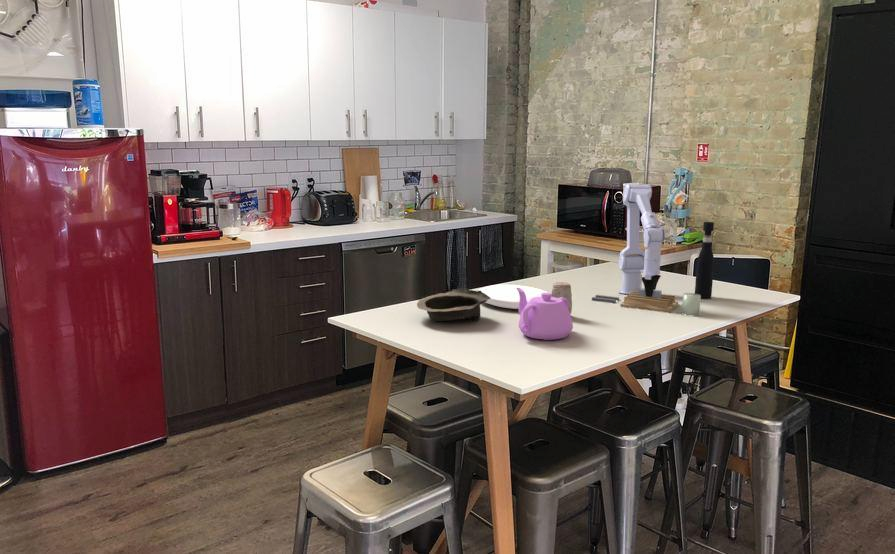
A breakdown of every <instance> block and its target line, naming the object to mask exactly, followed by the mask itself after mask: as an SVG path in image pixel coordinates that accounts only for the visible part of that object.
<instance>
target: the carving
mask: <svg viewBox="0 0 895 554" xmlns="http://www.w3.org/2000/svg"><path fill="white" fill-rule="evenodd" d="M551 294H552V297H555V298H561V297H562V298H565V299H567V301H568V310H569V312H570V315H571V314H572V312H573V311H572V310H573V299H572V295H573V294H572V286H571V284H570V283H568V282H565V281H557V282H554V283H553V284H552V287H551Z"/></svg>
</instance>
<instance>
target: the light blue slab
mask: <svg viewBox="0 0 895 554" xmlns="http://www.w3.org/2000/svg"><path fill="white" fill-rule="evenodd" d="M661 294H663V292H662V290H660V289H655V290H653V294H652V297H651V298H660V299H661ZM639 296H643V297H649V296H646V294H645V288H642V287H641V288H640V289H639Z"/></svg>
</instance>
